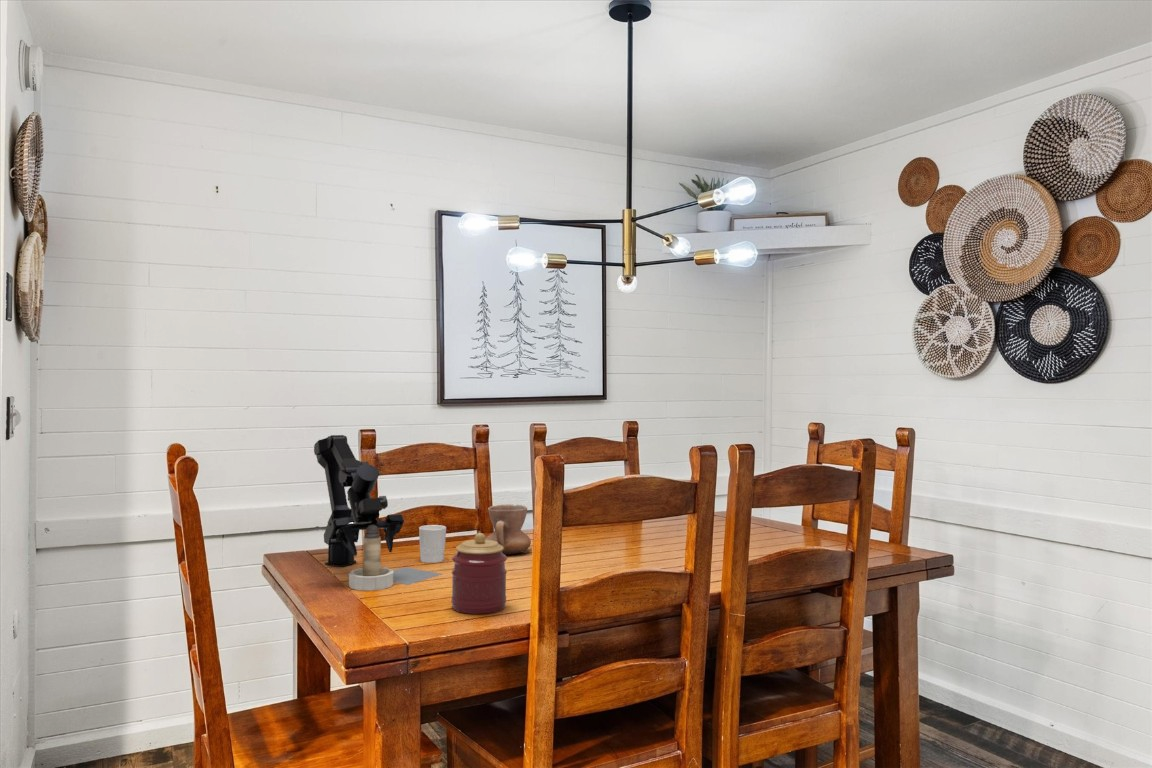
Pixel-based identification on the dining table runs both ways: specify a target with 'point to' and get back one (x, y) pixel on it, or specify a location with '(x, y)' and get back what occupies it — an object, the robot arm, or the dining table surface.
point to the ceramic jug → (509, 527)
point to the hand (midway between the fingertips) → (373, 553)
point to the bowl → (371, 580)
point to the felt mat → (412, 575)
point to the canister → (479, 576)
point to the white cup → (432, 543)
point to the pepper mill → (371, 552)
